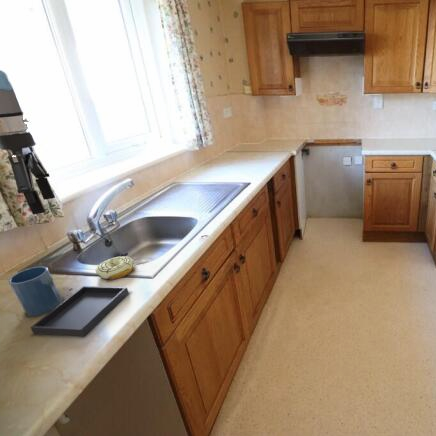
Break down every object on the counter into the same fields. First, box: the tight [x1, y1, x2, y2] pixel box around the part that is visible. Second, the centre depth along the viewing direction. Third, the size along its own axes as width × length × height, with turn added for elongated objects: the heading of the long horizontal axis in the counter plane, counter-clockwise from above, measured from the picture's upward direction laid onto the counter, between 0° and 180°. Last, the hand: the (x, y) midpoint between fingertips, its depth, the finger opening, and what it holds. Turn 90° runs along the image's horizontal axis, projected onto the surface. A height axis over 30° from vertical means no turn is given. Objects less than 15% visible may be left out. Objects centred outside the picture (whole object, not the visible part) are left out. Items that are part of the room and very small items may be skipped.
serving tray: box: [29, 285, 130, 338], centre depth 89 cm, size 17×14×2 cm
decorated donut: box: [95, 255, 135, 281], centre depth 106 cm, size 10×11×4 cm
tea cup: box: [8, 265, 64, 317], centre depth 90 cm, size 8×8×11 cm
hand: (44, 205), depth 96 cm, fingers open, 13 cm apart
